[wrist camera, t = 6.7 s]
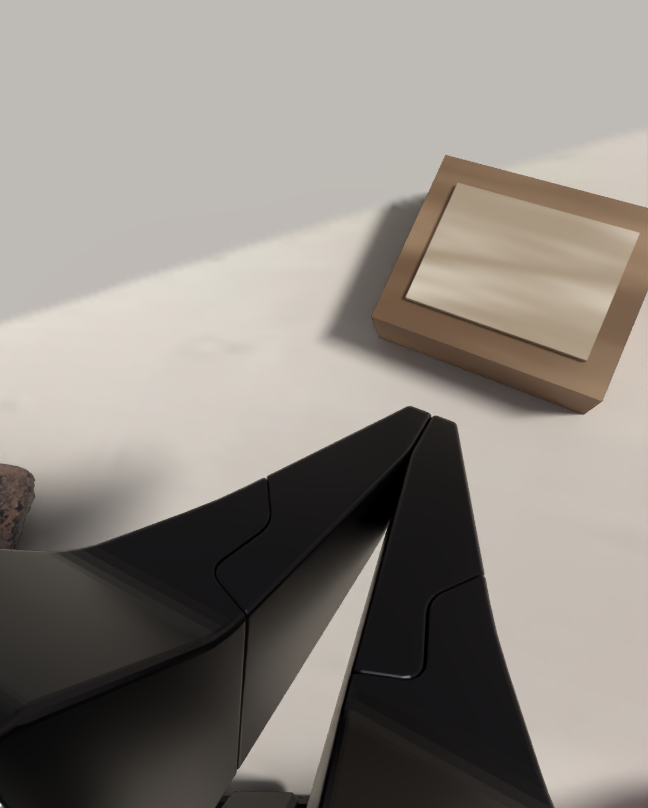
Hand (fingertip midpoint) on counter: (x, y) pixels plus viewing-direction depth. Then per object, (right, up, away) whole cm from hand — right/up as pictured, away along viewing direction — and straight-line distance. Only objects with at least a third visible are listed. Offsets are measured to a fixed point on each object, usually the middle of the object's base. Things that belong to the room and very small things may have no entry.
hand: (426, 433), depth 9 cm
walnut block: (+4, +2, +12) cm, 13 cm away
